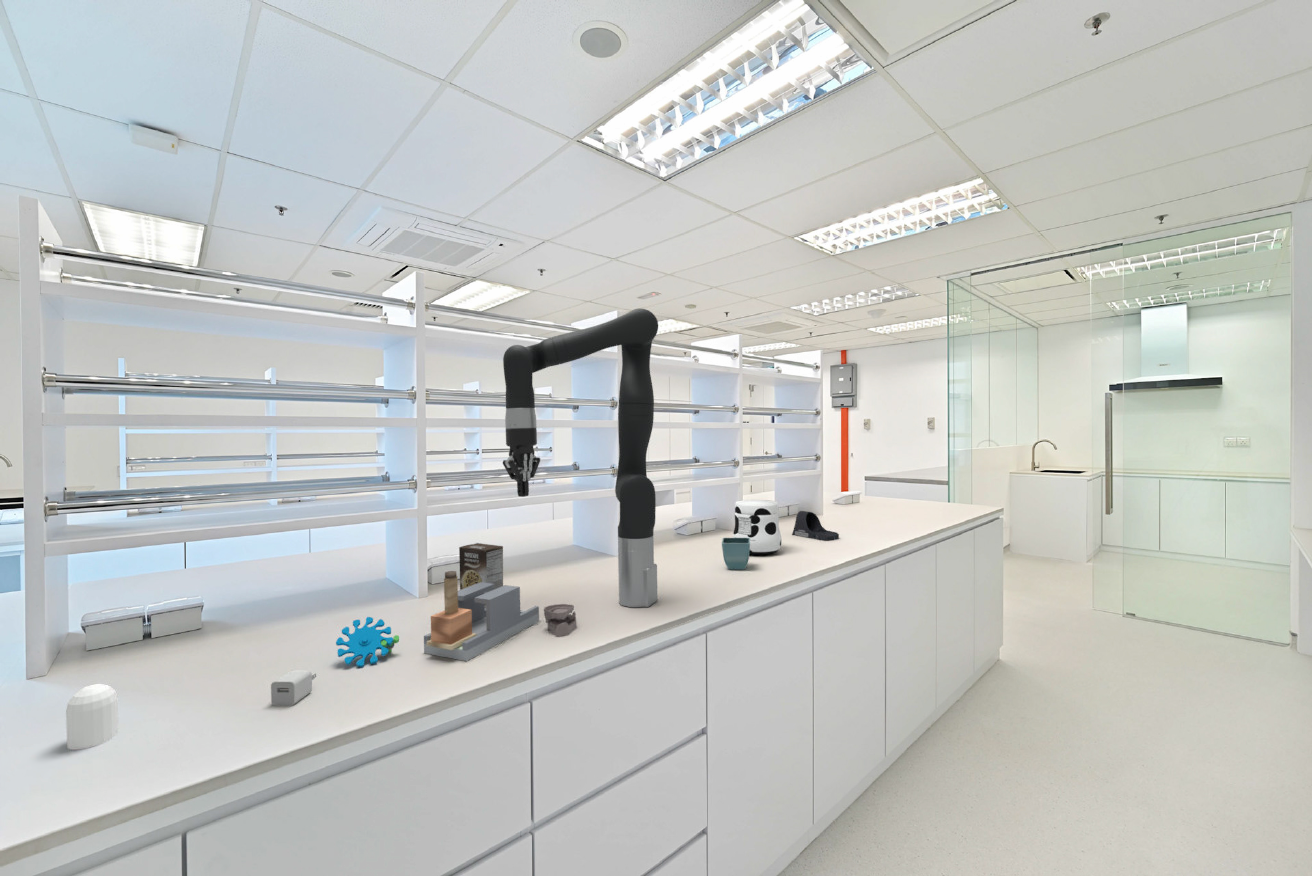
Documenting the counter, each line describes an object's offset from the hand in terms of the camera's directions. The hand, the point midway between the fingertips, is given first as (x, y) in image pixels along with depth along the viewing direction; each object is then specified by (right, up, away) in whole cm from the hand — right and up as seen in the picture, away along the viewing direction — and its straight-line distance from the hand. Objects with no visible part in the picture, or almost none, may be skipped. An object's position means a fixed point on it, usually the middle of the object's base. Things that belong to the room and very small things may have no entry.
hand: (523, 496), depth 138 cm
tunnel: (-4, -29, -17) cm, 34 cm away
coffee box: (-11, -29, +1) cm, 31 cm away
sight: (+99, -26, +88) cm, 135 cm away
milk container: (+70, -27, +61) cm, 96 cm away
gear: (-24, -30, -29) cm, 48 cm away
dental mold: (+12, -29, -14) cm, 34 cm away
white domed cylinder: (-50, -30, -56) cm, 81 cm away
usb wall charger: (-28, -30, -43) cm, 60 cm away
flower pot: (+59, -27, +39) cm, 75 cm away
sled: (-8, -27, -26) cm, 38 cm away
